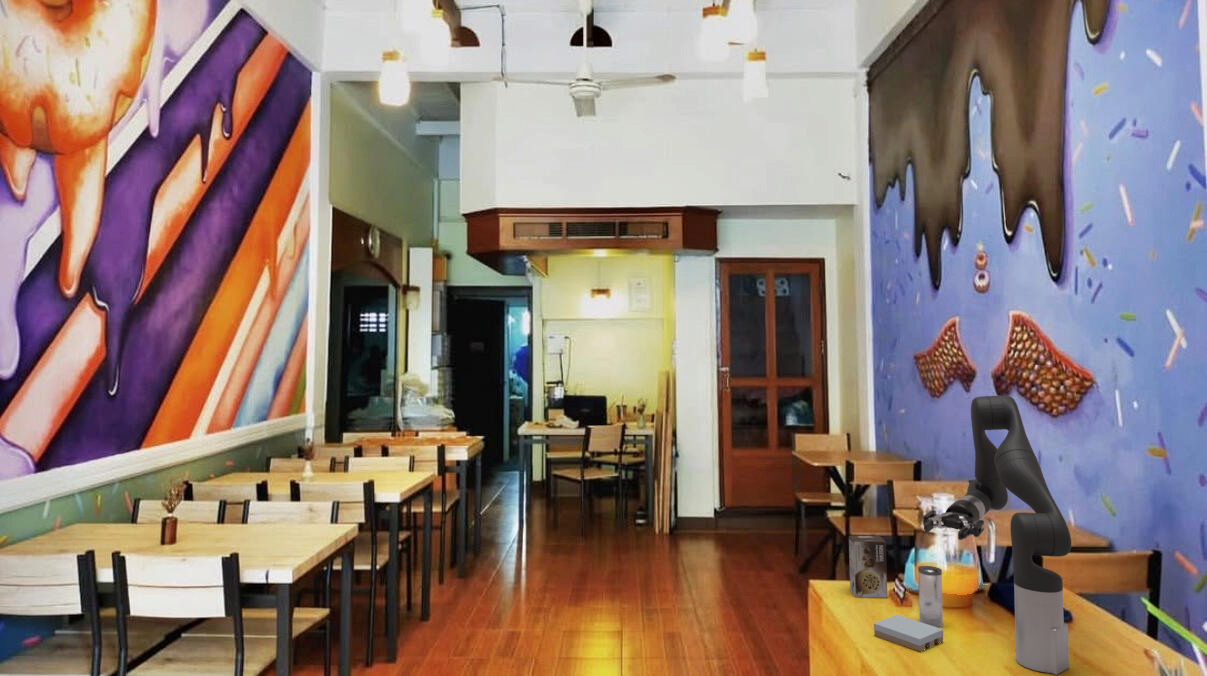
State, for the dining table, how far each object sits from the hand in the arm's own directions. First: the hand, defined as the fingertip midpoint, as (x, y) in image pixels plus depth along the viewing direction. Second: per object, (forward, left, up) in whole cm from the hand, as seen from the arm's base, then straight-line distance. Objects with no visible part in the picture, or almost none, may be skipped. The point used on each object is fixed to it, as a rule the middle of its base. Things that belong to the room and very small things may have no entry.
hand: (942, 532), depth 183 cm
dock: (-3, +21, -22) cm, 30 cm away
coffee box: (+22, 0, -22) cm, 32 cm away
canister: (-1, +7, -22) cm, 23 cm away
